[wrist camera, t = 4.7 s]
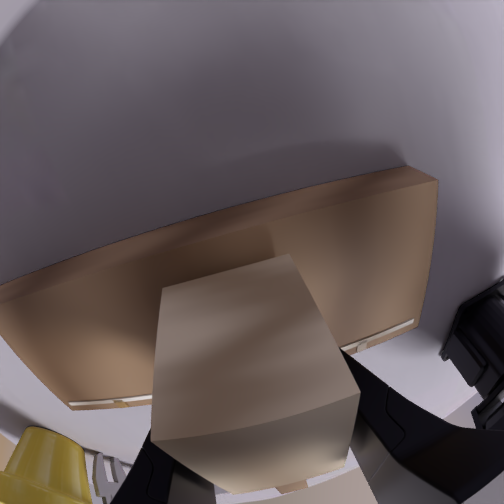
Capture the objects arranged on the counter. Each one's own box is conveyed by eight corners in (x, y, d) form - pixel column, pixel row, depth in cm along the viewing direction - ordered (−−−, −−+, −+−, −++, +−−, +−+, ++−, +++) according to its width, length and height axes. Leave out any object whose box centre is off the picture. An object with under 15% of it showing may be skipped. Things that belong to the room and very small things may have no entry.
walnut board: (408, 165, 11) (439, 180, 9) (399, 303, 15) (418, 327, 13) (-1, 285, 10) (-19, 311, 8) (78, 384, 14) (72, 411, 13)
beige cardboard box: (288, 253, 9) (361, 392, 5) (310, 398, 13) (340, 481, 9) (162, 288, 9) (150, 441, 4) (235, 417, 13) (251, 503, 9)
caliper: (94, 450, 20) (90, 503, 15) (98, 448, 20) (94, 503, 15) (237, 485, 30) (244, 523, 24) (243, 483, 29) (250, 522, 24)
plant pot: (43, 410, 16) (25, 514, 7) (122, 459, 21) (122, 542, 13) (-5, 415, 16) (-22, 491, 8) (63, 460, 22) (57, 527, 13)
